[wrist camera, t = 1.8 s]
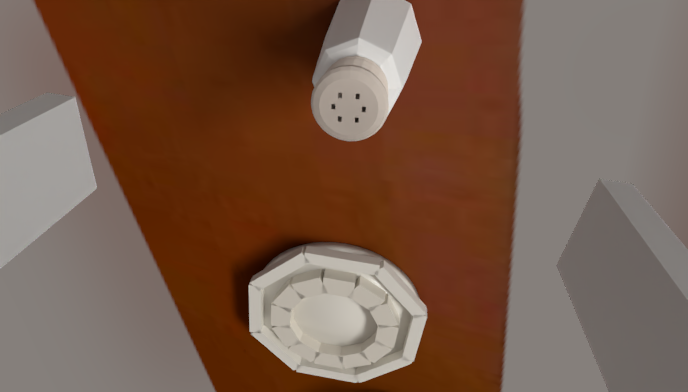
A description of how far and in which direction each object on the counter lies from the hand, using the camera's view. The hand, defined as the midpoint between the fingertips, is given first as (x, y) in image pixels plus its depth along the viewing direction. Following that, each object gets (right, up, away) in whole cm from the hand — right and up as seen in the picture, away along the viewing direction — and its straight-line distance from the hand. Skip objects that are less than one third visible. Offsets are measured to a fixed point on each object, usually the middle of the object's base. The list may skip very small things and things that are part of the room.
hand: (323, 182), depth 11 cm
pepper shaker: (+2, +9, +14) cm, 16 cm away
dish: (0, -10, +25) cm, 27 cm away
